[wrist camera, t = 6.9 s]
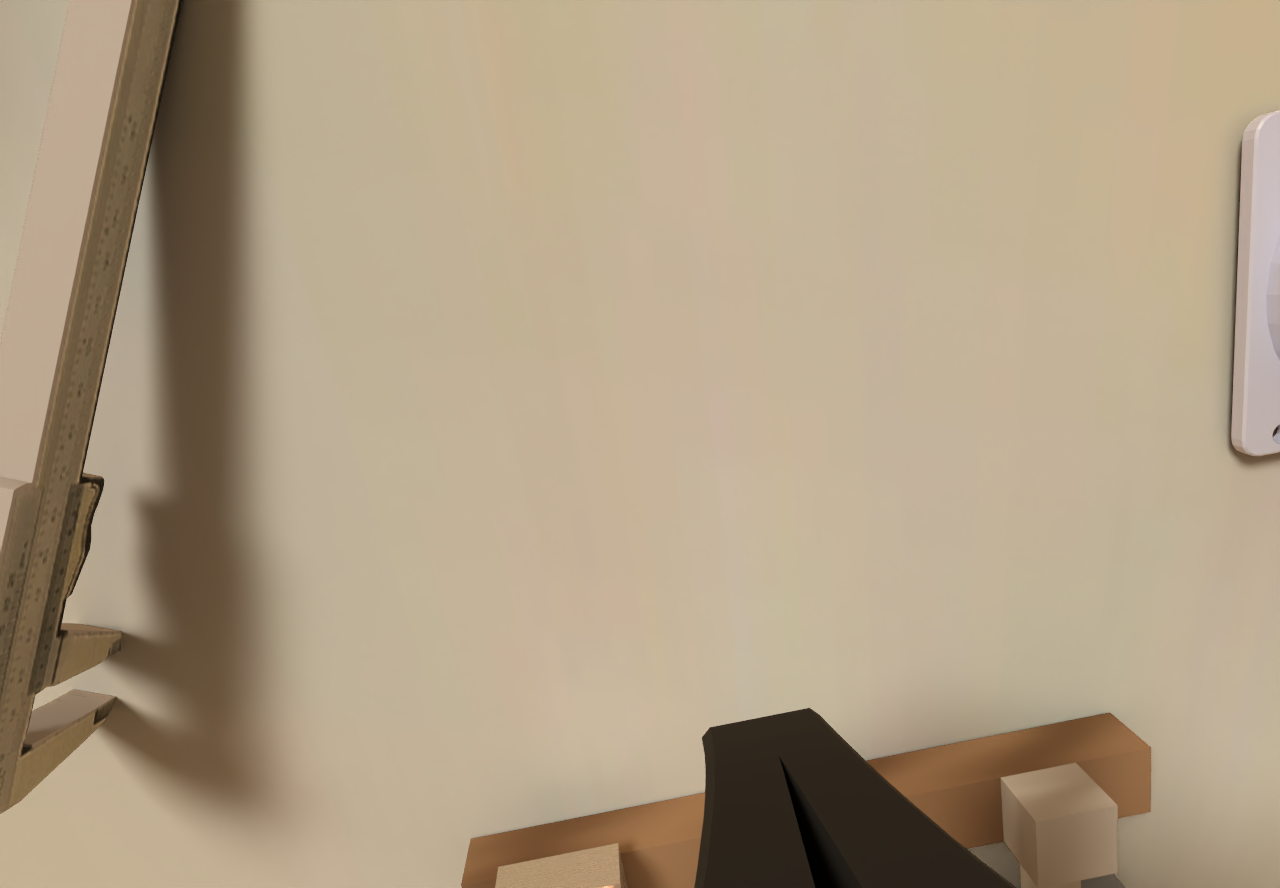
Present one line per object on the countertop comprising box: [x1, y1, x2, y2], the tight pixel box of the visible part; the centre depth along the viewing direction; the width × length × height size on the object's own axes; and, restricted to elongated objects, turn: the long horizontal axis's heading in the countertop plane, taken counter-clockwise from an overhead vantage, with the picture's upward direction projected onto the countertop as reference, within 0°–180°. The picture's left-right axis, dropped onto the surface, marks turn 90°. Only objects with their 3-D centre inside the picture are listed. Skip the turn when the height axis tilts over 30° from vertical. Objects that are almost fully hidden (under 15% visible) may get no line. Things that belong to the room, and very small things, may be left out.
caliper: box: [0, 0, 182, 814], centre depth 13 cm, size 20×1×6 cm, turn 166°
